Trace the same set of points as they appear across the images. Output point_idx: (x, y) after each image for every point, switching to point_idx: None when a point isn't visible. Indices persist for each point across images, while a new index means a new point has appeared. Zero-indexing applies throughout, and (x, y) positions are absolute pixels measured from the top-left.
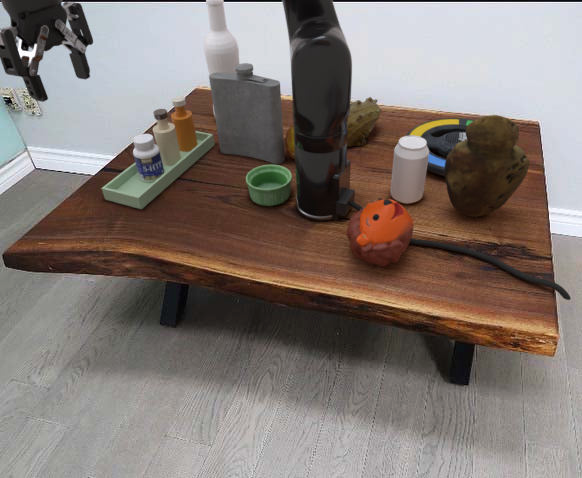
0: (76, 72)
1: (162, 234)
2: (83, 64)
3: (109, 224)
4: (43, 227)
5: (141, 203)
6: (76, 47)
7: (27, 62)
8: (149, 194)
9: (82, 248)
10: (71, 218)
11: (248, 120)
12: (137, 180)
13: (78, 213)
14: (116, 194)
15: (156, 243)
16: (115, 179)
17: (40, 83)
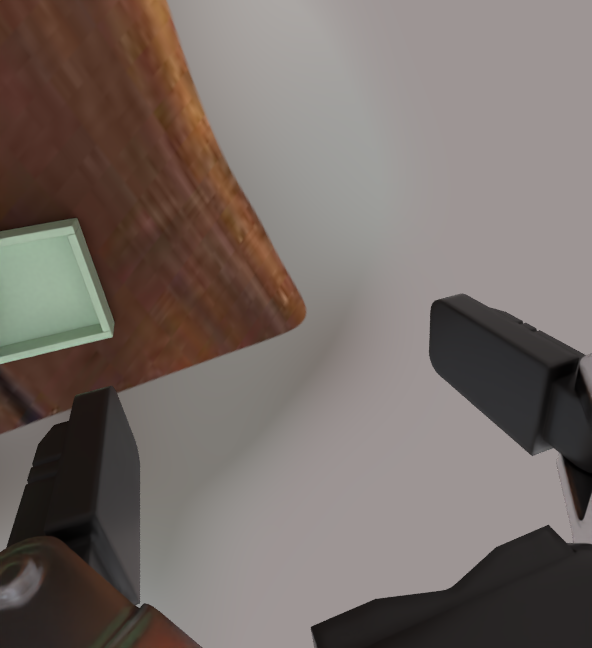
0: (134, 471)
1: (106, 82)
2: (94, 452)
3: (167, 237)
4: (253, 338)
5: (69, 222)
6: (106, 590)
7: (583, 503)
8: (28, 230)
9: (253, 217)
10: (204, 321)
11: None
12: (7, 320)
13: (184, 325)
14: (98, 293)
15: (141, 69)
16: (63, 342)
17: (518, 336)
